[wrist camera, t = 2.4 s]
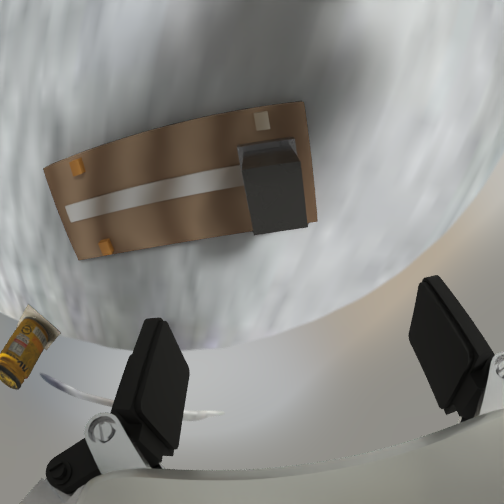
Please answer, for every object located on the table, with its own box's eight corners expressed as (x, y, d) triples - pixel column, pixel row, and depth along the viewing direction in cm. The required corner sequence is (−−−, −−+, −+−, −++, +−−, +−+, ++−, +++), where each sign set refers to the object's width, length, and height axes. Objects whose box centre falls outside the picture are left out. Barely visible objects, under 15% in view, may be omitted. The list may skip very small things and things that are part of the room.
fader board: (301, 101, 26) (305, 102, 24) (314, 215, 32) (319, 224, 30) (50, 164, 28) (39, 170, 26) (83, 254, 34) (75, 263, 32)
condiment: (17, 324, 42) (-13, 371, 32) (28, 303, 39) (-7, 355, 29) (47, 349, 45) (21, 399, 34) (61, 331, 42) (31, 387, 32)
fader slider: (293, 136, 26) (307, 153, 20) (300, 198, 29) (314, 232, 23) (237, 144, 26) (232, 164, 20) (248, 205, 29) (248, 242, 23)
